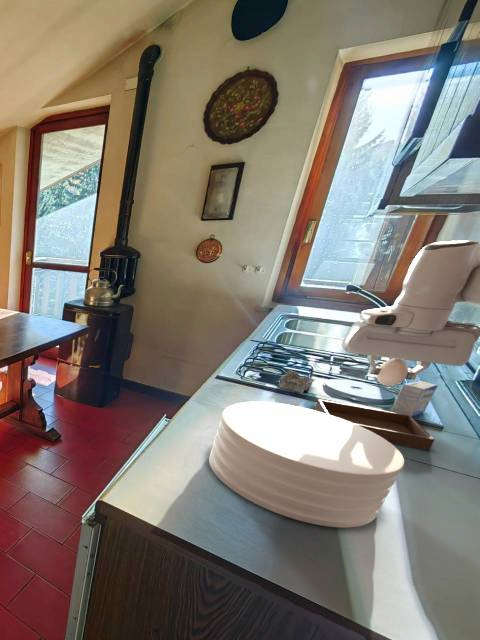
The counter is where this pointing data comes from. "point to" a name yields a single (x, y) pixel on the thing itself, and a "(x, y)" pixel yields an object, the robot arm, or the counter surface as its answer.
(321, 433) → the plate stack
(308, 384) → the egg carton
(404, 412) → the medicine box
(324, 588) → the counter surface
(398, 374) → the egg
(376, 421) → the tray
